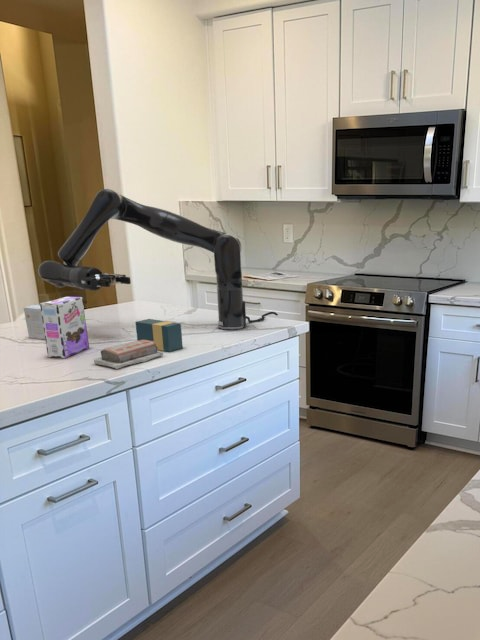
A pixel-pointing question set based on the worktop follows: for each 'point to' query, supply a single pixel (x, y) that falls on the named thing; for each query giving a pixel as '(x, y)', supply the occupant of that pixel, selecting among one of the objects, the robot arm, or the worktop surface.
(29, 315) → the small box
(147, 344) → the packaged product
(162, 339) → the tea box
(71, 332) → the candy box
